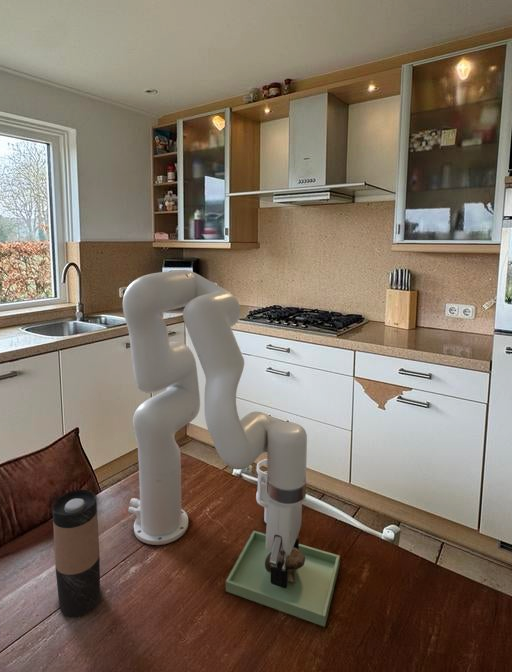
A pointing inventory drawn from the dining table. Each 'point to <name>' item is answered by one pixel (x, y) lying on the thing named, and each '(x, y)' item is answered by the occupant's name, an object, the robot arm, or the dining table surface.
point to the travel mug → (76, 552)
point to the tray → (298, 598)
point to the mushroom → (289, 563)
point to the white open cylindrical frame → (262, 488)
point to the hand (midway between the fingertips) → (285, 568)
